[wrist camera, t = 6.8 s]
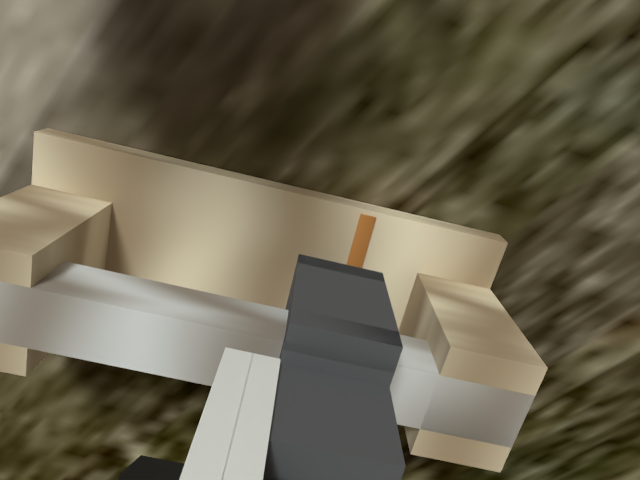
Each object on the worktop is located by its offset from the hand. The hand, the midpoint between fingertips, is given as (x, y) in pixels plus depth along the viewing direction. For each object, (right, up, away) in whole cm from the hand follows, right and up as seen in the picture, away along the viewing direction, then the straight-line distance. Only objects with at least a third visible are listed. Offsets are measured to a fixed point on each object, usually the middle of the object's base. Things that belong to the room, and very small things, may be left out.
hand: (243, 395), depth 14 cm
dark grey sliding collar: (+2, +1, +5) cm, 5 cm away
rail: (0, +3, +7) cm, 8 cm away
